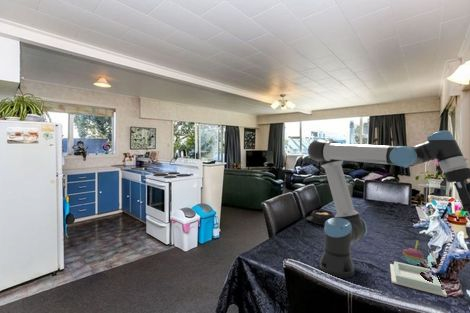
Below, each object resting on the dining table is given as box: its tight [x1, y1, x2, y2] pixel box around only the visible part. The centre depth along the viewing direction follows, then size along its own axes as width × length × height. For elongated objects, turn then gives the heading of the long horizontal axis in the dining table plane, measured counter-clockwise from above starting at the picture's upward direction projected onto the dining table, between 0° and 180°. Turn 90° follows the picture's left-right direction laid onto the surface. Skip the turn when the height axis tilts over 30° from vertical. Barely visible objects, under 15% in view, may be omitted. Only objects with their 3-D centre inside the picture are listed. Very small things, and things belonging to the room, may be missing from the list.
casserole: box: [305, 209, 335, 226], centre depth 181 cm, size 25×19×8 cm
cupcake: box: [402, 239, 425, 266], centre depth 118 cm, size 9×8×12 cm
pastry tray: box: [389, 261, 448, 298], centre depth 104 cm, size 18×18×3 cm
